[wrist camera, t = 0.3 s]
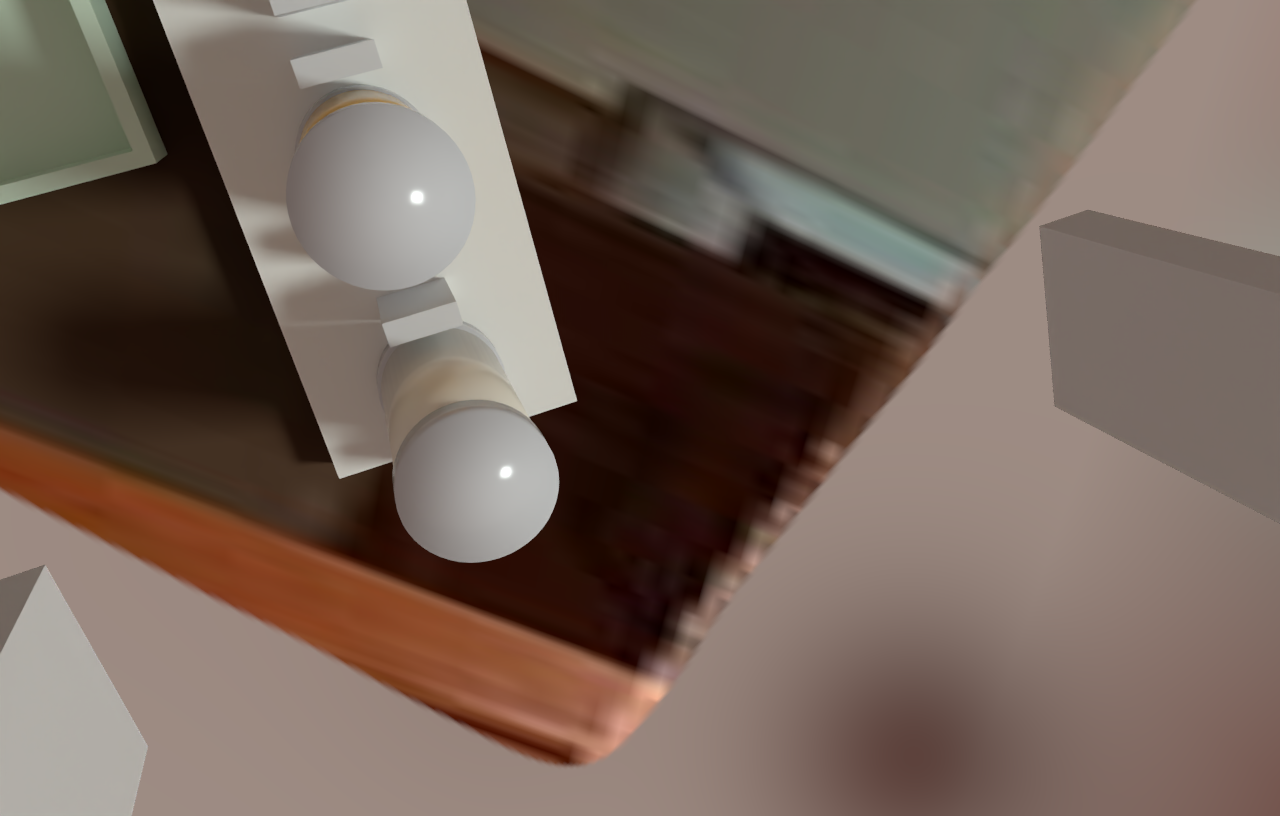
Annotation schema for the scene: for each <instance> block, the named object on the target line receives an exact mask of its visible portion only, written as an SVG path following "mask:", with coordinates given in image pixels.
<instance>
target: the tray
mask: <svg viewBox="0 0 1280 816" xmlns="http://www.w3.org/2000/svg"><path fill="white" fill-rule="evenodd" d="M166 155H167V151H166V149H165V147H164V144H163V142H162V139H161V137H160V134H159V132H158V129H157V127H156V124H155V122H154V120H153V117H152V115H151V112H150V110H149V107H148V105H147V102H146V100H145V97H144V95H143V93H142V90H141V88H140V85H139V83H138V80H137V78H136V75H135V73H134V70H133V68H132V66H131V63H130V61H129V58H128V56H127V53H126V51H125V48H124V46H123V43H122V41H121V39H120V36H119V34H118V31H117V29H116V26H115V24H114V21H113V19H112V16H111V14H110V12H109V9H108V7H107V4H106V2H105V0H0V205H1V204H5V203H8V202H12V201H16V200H20V199H23V198H27V197H31V196H35V195H38V194H42V193H46V192H50V191H54V190H57V189H61V188H65V187H69V186H72V185H76V184H80V183H84V182H87V181H91V180H95V179H99V178H102V177H106V176H110V175H114V174H118V173H121V172H125V171H129V170H133V169H136V168H140V167H144V166H148V165H151V164H155V163H157V162H159V161H160V160H161V159H162V158H164V157H165V156H166Z"/></svg>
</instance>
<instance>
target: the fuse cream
mask: <svg viewBox="0 0 1280 816" xmlns="http://www.w3.org/2000/svg"><path fill="white" fill-rule="evenodd" d="M463 324H464V325H462V326H458V327H455V328H452V329H449V330H445V331H442V332H439V333H436V334H432V335H429V336H426V337H423V338H419V339H416V340H413V341H410V342H406V343H403V344H400V345H397V346H393V347H390V346H389V343H388V344H387V346H386V347H385V349H384V350H383V353H382V355H381V357H380V360H379V363H378V368H377V388H378V394H379V399H380V403H381V406H382V408H383V411H384V413H385V418H386V424H387V430H388V436H389V442H390V448H391V454H392V460H393V466H394V467H393V488H394V495H395V501H396V507H397V511H398V514H399V517H400V519H401V521H402V523H403V525H404V527H405V529H406V530H407V532H408V533H409V534H410V535H411V537H412V538H413V539H414V540H415V541H416V542H417V543H418V544H420V545H421V546H422V547H423V548H425V549H426V550H428V551H429V552H431V553H433V554H435V555H437V556H440V557H442V558H446V559H449V560H453V561H458V562H470V563H471V562H484V561H490V560H494V559H497V558H501V557H503V556H506V555H508V554H511V553H512V552H514V551H516V550H518V549H520V548H521V547H523V546H524V545H525V544H527V543H528V542H529V541H530V540H532V539H533V538H534V537H535V536H536V535H537V534H538V533H539V531H540V530H541V529H542V528H543V527H544V525H545V524H546V522H547V521H548V519H549V517H550V515H551V513H552V511H553V509H554V506H555V503H556V500H557V495H558V489H559V474H558V468H557V464H556V461H555V458H554V455H553V453H552V451H551V449H550V447H549V446H548V444H547V442H546V440H545V438H544V437H543V435H542V433H541V431H540V430H539V429H538V427H537V426H536V425H535V424H534V423H533V422H532V421H531V420H530V418H529V416H528V414H527V413H526V411H525V409H524V407H523V405H522V403H521V401H520V400H519V398H518V396H517V394H516V392H515V390H514V388H513V387H512V385H511V383H510V381H509V379H508V377H507V376H506V374H505V370H504V366H503V363H502V361H501V358H500V357H499V355H498V353H497V351H496V349H495V347H494V346H493V344H492V343H491V341H490V340H489V339H488V338H487V337H486V336H485V335H484V333H482V332H481V331H480V330H479V329H477V328H476V327H474V326H472V325H471V324H469V323H466V322H464V321H463Z"/></svg>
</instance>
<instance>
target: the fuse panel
mask: <svg viewBox="0 0 1280 816" xmlns="http://www.w3.org/2000/svg"><path fill="white" fill-rule="evenodd" d="M153 2H154V4H155V7H156V10H157V12H158V15H159V17H160V20H161V22H162V25H163V28H164V30H165V33H166V35H167V38H168V40H169V43H170V46H171V48H172V51H173V53H174V56H175V58H176V61H177V63H178V66H179V69H180V71H181V74H182V76H183V79H184V81H185V84H186V87H187V89H188V92H189V94H190V97H191V99H192V102H193V105H194V107H195V110H196V112H197V115H198V117H199V120H200V122H201V125H202V128H203V130H204V133H205V135H206V138H207V140H208V143H209V146H210V148H211V151H212V153H213V156H214V158H215V161H216V164H217V166H218V169H219V171H220V174H221V176H222V179H223V181H224V184H225V187H226V189H227V192H228V194H229V197H230V199H231V202H232V205H233V207H234V210H235V212H236V215H237V217H238V220H239V223H240V225H241V228H242V230H243V233H244V235H245V238H246V240H247V243H248V246H249V248H250V251H251V253H252V256H253V258H254V261H255V264H256V266H257V269H258V271H259V274H260V276H261V279H262V282H263V284H264V287H265V289H266V292H267V294H268V297H269V299H270V302H271V305H272V307H273V310H274V312H275V315H276V317H277V320H278V323H279V325H280V328H281V330H282V333H283V335H284V338H285V341H286V343H287V346H288V348H289V351H290V353H291V356H292V358H293V361H294V364H295V366H296V369H297V371H298V374H299V376H300V379H301V382H302V384H303V387H304V389H305V392H306V394H307V397H308V400H309V402H310V405H311V407H312V410H313V412H314V415H315V417H316V420H317V423H318V425H319V428H320V430H321V433H322V435H323V438H324V441H325V443H326V446H327V448H328V451H329V453H330V456H331V459H332V461H333V464H334V466H335V469H336V471H337V474H338V476H339V479H340V478H343V477H346V476H349V475H353V474H356V473H359V472H362V471H365V470H368V469H371V468H374V467H377V466H380V465H383V464H386V463H389V462H392V461H393V460H392V454H391V448H390V442H389V436H388V430H387V424H386V418H385V413H384V411H383V408H382V406H381V403H380V399H379V394H378V388H377V368H378V363H379V360H380V357H381V355H382V353H383V350H384V349H385V347H386V346H387V344H388V343H389V346H390V347H393V346H397V345H400V344H403V343H406V342H410V341H413V340H416V339H419V338H423V337H426V336H429V335H432V334H436V333H439V332H442V331H445V330H449V329H452V328H455V327H458V326H462V325H464V324H463V321H464V322H466V323H469V324H471V325H472V326H474V327H476V328H477V329H479V330H480V331H481V332H482V333H484V335H485V336H486V337H487V338H488V339H489V340H490V341H491V343H492V344H493V346H494V347H495V349H496V351H497V353H498V355H499V357H500V358H501V361H502V363H503V366H504V370H505V374H506V376H507V377H508V379H509V381H510V383H511V385H512V387H513V388H514V390H515V392H516V394H517V396H518V398H519V400H520V401H521V403H522V405H523V407H524V409H525V411H526V413H527V414H528V416H532V415H536V414H539V413H542V412H545V411H548V410H551V409H554V408H557V407H560V406H563V405H566V404H569V403H572V402H575V401H577V399H576V396H575V392H574V388H573V385H572V381H571V377H570V374H569V370H568V367H567V363H566V359H565V356H564V352H563V349H562V345H561V341H560V338H559V334H558V330H557V327H556V323H555V320H554V316H553V312H552V309H551V305H550V302H549V298H548V294H547V291H546V287H545V283H544V280H543V276H542V273H541V269H540V265H539V262H538V258H537V255H536V251H535V247H534V244H533V240H532V236H531V233H530V229H529V226H528V222H527V218H526V215H525V211H524V208H523V204H522V200H521V197H520V193H519V189H518V186H517V182H516V179H515V175H514V171H513V168H512V164H511V161H510V157H509V153H508V150H507V146H506V142H505V139H504V135H503V132H502V128H501V124H500V121H499V117H498V114H497V110H496V106H495V103H494V99H493V95H492V92H491V88H490V85H489V81H488V77H487V74H486V70H485V67H484V63H483V59H482V56H481V52H480V48H479V45H478V41H477V38H476V34H475V30H474V27H473V23H472V20H471V16H470V12H469V9H468V5H467V1H466V0H153ZM351 85H372V86H377V87H381V88H384V89H387V90H390V91H392V92H394V93H396V94H398V95H399V96H401V97H402V98H404V99H405V100H407V101H408V102H409V103H410V104H411V105H413V106H414V107H415V108H416V109H417V110H418V111H419V112H420V114H422V115H424V116H425V117H427V118H428V119H430V120H431V121H433V122H434V123H435V124H437V125H438V126H439V127H440V128H441V129H442V130H444V131H445V132H446V133H447V134H448V135H449V136H450V137H451V139H452V140H453V141H454V142H455V143H456V145H457V146H458V148H459V149H460V151H461V152H462V154H463V156H464V157H465V159H466V161H467V163H468V166H469V169H470V171H471V174H472V178H473V182H474V187H475V197H476V202H475V215H474V221H473V225H472V228H471V231H470V234H469V236H468V238H467V240H466V243H465V245H464V246H463V248H462V249H461V251H460V252H459V254H458V255H457V256H456V258H455V259H454V260H453V261H452V262H451V263H450V264H449V265H448V266H447V267H446V268H445V269H444V270H443V271H441V272H440V273H438V274H437V275H436V276H434V277H433V278H431V279H429V280H427V281H425V282H423V283H420V284H418V285H415V286H412V287H408V288H404V289H399V290H389V291H386V290H371V289H364V288H361V287H357V286H354V285H351V284H348V283H346V282H344V281H341V280H339V279H338V278H336V277H334V276H332V275H331V274H329V273H328V272H327V271H325V270H324V269H323V268H321V267H320V266H319V265H318V264H317V263H316V262H315V261H314V260H313V259H312V258H311V257H310V256H309V255H308V253H307V252H306V251H305V250H304V248H303V247H302V245H301V244H300V242H299V240H298V239H297V237H296V235H295V232H294V230H293V228H292V225H291V222H290V219H289V215H288V210H287V204H286V185H287V177H288V172H289V168H290V165H291V161H292V158H293V156H294V153H295V145H296V138H297V134H298V131H299V127H300V125H301V123H302V120H303V119H304V117H305V115H306V114H307V112H308V111H309V109H310V108H311V107H312V106H313V105H314V104H315V103H316V102H317V101H318V100H319V99H320V98H322V97H323V96H325V95H326V94H328V93H330V92H332V91H334V90H336V89H339V88H342V87H346V86H351Z"/></svg>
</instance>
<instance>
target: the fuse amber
mask: <svg viewBox="0 0 1280 816" xmlns="http://www.w3.org/2000/svg"><path fill="white" fill-rule="evenodd" d="M475 202H476V197H475V187H474V182H473V178H472V174H471V171H470V169H469V166H468V163H467V161H466V159H465V157H464V156H463V154H462V152H461V151H460V149H459V148H458V146H457V145H456V143H455V142H454V141H453V140H452V139H451V137H450V136H449V135H448V134H447V133H446V132H445V131H444V130H442V129H441V128H440V127H439V126H438V125H437V124H435V123H434V122H433V121H431V120H430V119H428V118H427V117H425V116H424V115H422V114H420V112H419V111H418V110H417V109H416V108H415V107H414V106H413V105H411V104H410V103H409V102H408V101H407V100H405V99H404V98H402V97H401V96H399V95H398V94H396V93H394V92H392V91H390V90H387V89H384V88H381V87H377V86H372V85H351V86H346V87H342V88H339V89H336V90H334V91H332V92H330V93H328V94H326V95H325V96H323V97H322V98H320V99H319V100H318V101H317V102H316V103H315V104H314V105H313V106H312V107H311V108H310V109H309V111H308V112H307V114H306V115H305V117H304V119H303V120H302V123H301V125H300V127H299V131H298V134H297V138H296V145H295V153H294V156H293V158H292V161H291V165H290V168H289V172H288V177H287V185H286V204H287V210H288V215H289V219H290V222H291V225H292V228H293V230H294V232H295V235H296V237H297V239H298V240H299V242H300V244H301V245H302V247H303V248H304V250H305V251H306V252H307V253H308V255H309V256H310V257H311V258H312V259H313V260H314V261H315V262H316V263H317V264H318V265H319V266H320V267H321V268H323V269H324V270H325V271H327V272H328V273H329V274H331V275H332V276H334V277H336V278H338V279H339V280H341V281H344V282H346V283H348V284H351V285H354V286H357V287H361V288H364V289H371V290H386V291H389V290H399V289H404V288H408V287H412V286H415V285H418V284H420V283H423V282H425V281H427V280H429V279H431V278H433V277H434V276H436V275H437V274H438V273H440V272H441V271H443V270H444V269H445V268H446V267H447V266H448V265H449V264H450V263H451V262H452V261H453V260H454V259H455V258H456V256H457V255H458V254H459V252H460V251H461V249H462V248H463V246H464V245H465V243H466V240H467V238H468V236H469V234H470V231H471V228H472V225H473V221H474V215H475Z"/></svg>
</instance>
